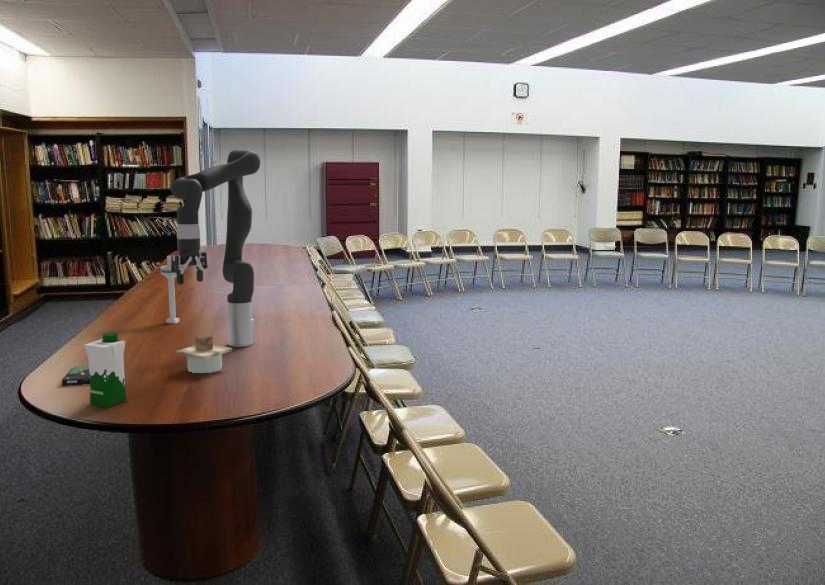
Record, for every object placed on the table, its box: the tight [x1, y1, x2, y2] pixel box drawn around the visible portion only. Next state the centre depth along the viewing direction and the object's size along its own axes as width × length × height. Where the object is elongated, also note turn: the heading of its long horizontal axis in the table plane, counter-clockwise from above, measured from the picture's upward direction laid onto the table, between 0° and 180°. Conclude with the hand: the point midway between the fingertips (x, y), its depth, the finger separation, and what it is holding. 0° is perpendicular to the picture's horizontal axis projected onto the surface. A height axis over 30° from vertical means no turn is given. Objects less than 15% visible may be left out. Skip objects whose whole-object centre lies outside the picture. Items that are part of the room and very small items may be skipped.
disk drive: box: [61, 365, 90, 387], centre depth 216 cm, size 10×3×15 cm
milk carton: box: [84, 332, 128, 409], centre depth 192 cm, size 9×9×20 cm
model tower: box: [160, 255, 180, 324], centre depth 296 cm, size 8×8×30 cm
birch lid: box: [175, 334, 233, 359], centre depth 227 cm, size 13×13×6 cm
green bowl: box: [186, 354, 223, 374], centre depth 228 cm, size 11×11×6 cm
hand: (190, 282), depth 234 cm, fingers open, 8 cm apart
